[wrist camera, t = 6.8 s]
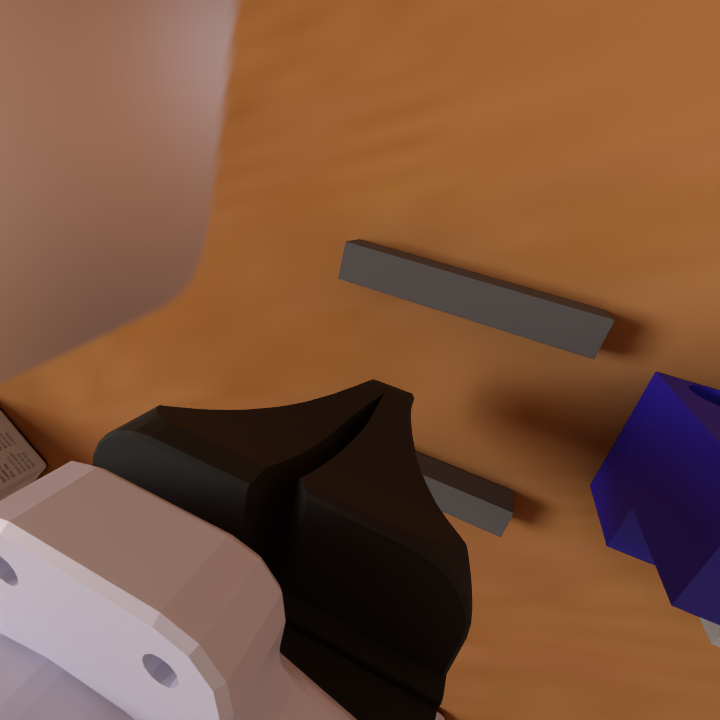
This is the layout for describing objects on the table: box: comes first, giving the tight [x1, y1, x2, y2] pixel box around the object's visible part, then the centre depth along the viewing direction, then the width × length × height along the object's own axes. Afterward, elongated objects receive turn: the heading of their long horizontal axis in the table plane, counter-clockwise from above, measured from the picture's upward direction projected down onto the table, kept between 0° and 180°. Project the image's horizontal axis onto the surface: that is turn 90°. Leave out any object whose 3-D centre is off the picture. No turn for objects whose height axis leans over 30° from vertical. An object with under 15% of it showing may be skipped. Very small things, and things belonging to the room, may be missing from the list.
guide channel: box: [338, 239, 615, 537], centre depth 14 cm, size 8×8×1 cm
